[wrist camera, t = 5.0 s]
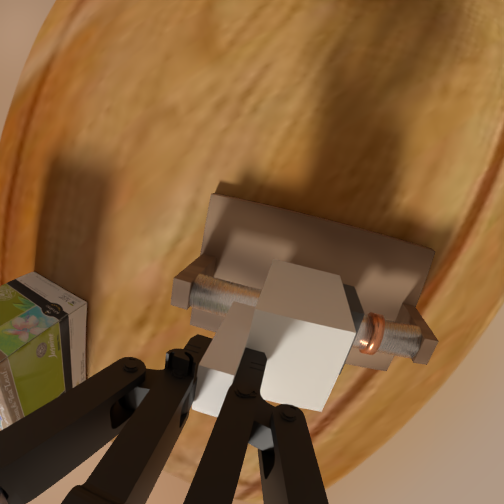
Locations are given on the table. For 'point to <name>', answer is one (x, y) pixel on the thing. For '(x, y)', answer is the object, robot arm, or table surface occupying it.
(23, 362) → the tea box
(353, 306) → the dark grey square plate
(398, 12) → the table surface
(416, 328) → the pipe
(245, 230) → the board
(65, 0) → the table surface
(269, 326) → the sleeve
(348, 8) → the table surface
